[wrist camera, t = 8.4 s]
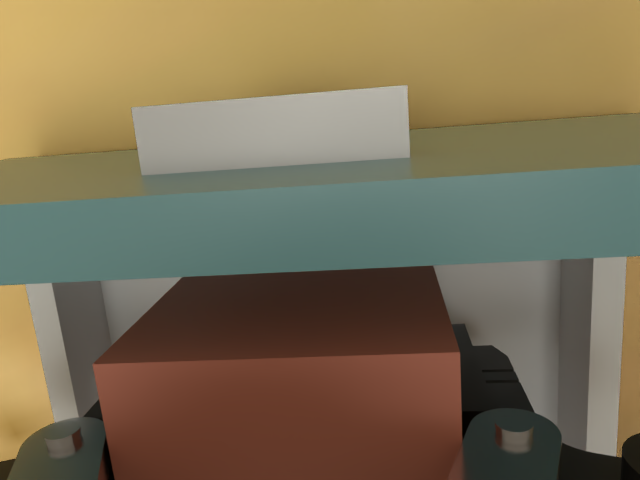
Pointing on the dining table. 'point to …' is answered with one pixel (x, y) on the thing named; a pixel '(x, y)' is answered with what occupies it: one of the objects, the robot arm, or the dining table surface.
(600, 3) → the dining table surface
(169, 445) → the block
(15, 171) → the drawer
